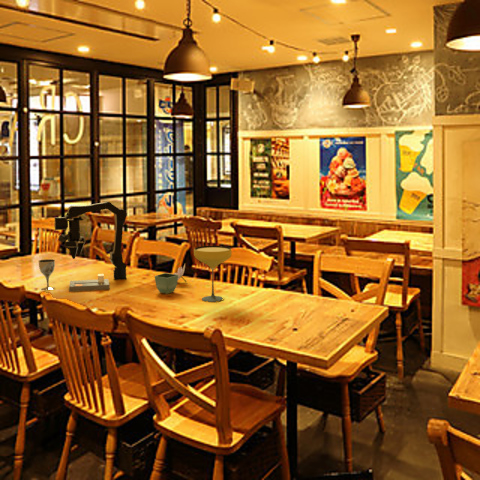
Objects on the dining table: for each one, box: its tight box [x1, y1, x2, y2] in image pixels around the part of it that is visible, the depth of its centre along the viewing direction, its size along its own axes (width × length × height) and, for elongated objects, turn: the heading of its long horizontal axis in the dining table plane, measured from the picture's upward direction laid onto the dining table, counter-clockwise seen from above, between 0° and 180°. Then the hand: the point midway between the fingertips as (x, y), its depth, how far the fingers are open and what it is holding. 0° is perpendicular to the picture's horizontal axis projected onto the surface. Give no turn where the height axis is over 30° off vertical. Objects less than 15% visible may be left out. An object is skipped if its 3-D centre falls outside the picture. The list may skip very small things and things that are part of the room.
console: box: [68, 278, 110, 293], centre depth 296 cm, size 20×14×3 cm
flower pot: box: [154, 272, 179, 295], centre depth 286 cm, size 9×9×9 cm
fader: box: [97, 273, 105, 283], centre depth 297 cm, size 3×5×5 cm, turn 15°
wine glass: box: [38, 258, 56, 291], centre depth 292 cm, size 8×8×15 cm
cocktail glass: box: [193, 245, 232, 303], centre depth 271 cm, size 18×18×25 cm
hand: (76, 257), depth 307 cm, fingers open, 9 cm apart
